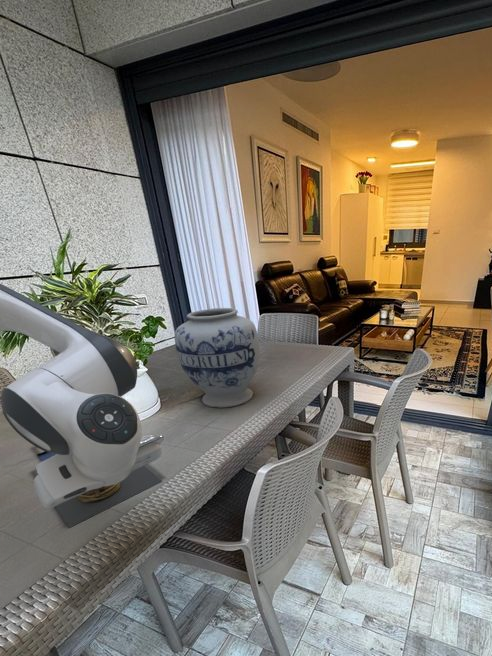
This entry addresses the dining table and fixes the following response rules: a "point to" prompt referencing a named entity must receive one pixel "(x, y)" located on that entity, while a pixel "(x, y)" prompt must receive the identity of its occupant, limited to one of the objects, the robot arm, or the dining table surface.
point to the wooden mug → (99, 493)
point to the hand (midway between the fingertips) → (103, 481)
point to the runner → (130, 486)
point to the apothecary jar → (219, 355)
